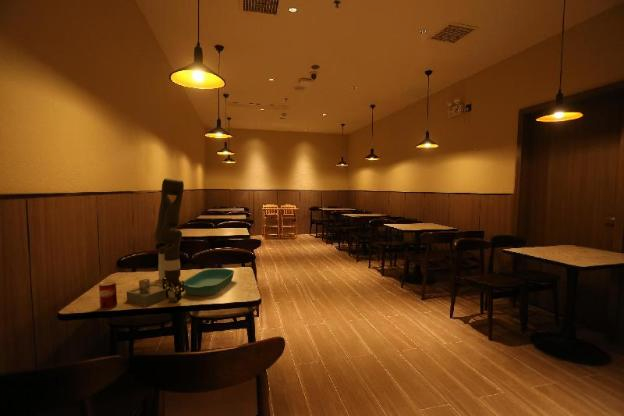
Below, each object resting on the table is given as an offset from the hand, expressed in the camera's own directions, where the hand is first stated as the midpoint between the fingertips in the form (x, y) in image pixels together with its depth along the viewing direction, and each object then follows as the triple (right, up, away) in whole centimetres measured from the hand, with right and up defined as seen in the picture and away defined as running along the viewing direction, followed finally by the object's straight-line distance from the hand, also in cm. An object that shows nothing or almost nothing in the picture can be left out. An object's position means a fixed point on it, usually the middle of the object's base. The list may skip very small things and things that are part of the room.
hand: (173, 298), depth 164 cm
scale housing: (-15, -1, +5) cm, 15 cm away
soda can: (-30, -3, -6) cm, 31 cm away
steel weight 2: (0, -1, 0) cm, 1 cm away
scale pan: (-15, +2, +5) cm, 15 cm away
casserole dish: (+11, 0, +23) cm, 26 cm away
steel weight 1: (-16, +3, +2) cm, 17 cm away
